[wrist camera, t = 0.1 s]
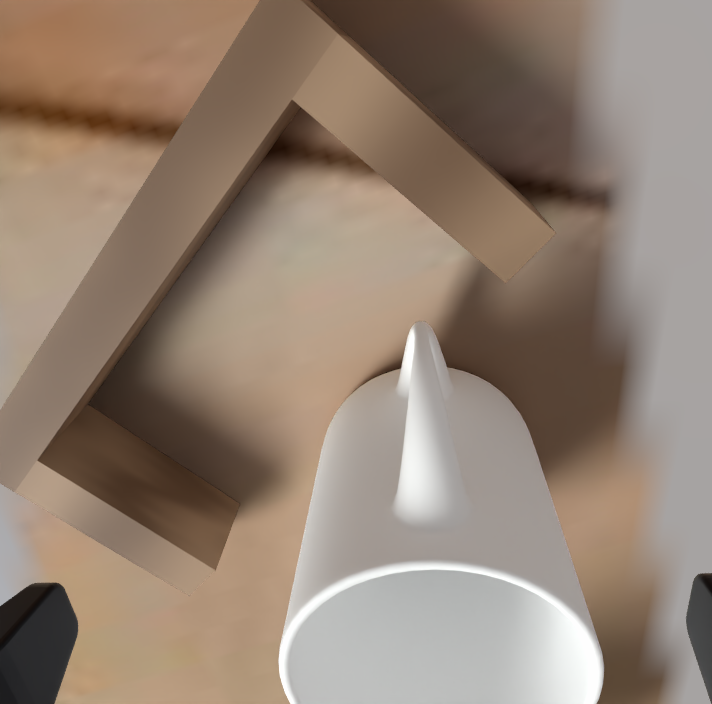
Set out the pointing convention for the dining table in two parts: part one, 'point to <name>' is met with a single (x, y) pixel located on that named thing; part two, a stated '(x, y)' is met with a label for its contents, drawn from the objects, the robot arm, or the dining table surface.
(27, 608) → the robot arm
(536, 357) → the dining table surface
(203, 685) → the dining table surface
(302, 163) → the dining table surface
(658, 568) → the dining table surface
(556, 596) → the mug
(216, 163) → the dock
